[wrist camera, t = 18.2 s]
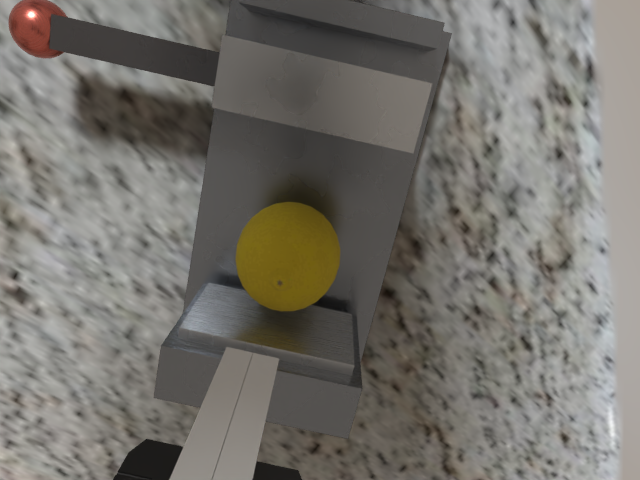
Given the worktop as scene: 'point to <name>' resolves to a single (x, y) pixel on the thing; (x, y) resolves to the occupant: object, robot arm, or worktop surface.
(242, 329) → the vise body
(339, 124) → the free jaw
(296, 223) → the lemon
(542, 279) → the worktop surface
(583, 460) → the worktop surface
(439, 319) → the worktop surface
